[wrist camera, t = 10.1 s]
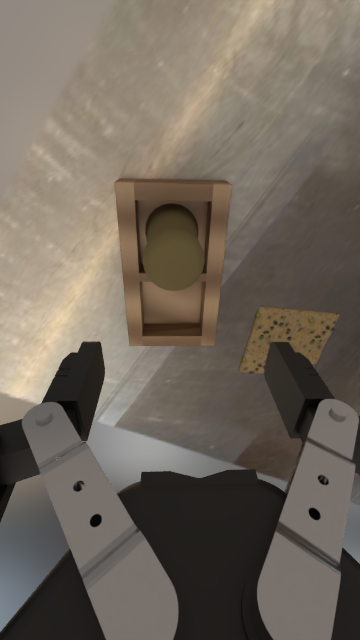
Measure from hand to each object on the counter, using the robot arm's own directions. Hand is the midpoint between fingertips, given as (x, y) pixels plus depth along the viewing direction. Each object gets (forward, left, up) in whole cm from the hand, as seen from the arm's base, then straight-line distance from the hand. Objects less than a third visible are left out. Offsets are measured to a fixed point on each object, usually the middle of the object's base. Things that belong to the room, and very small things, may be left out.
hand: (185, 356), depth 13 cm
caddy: (0, +4, -22) cm, 22 cm away
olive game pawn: (0, 0, -22) cm, 22 cm away
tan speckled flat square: (-17, +16, -23) cm, 32 cm away
